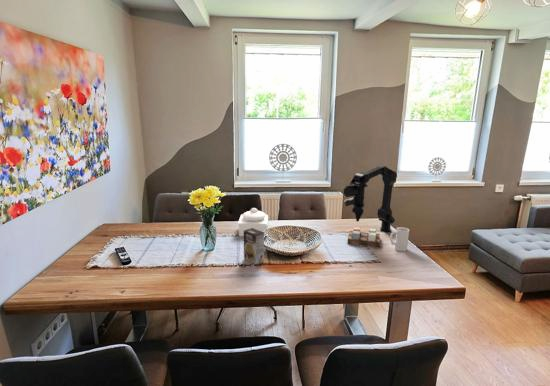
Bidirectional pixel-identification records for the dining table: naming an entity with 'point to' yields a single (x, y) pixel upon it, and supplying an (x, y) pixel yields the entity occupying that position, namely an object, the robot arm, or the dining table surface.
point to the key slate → (356, 235)
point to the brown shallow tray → (364, 240)
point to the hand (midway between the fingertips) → (357, 219)
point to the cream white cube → (372, 237)
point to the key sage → (372, 231)
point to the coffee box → (253, 245)
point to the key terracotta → (356, 229)
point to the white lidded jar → (253, 221)
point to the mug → (400, 238)
